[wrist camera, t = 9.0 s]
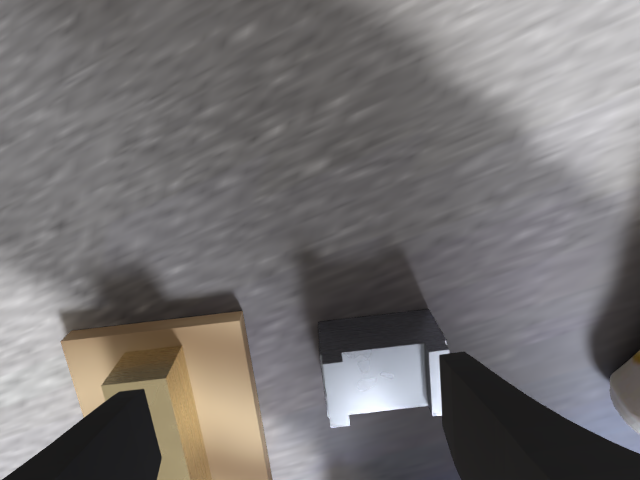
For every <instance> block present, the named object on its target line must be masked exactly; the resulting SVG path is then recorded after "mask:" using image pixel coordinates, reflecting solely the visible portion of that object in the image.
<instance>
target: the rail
mask: <svg viewBox="0 0 640 480" xmlns="http://www.w3.org/2000/svg"><path fill="white" fill-rule="evenodd" d="M101 388H102V391H103V395H104V398H105V401H106V400H108V399H109V398H110V397H112V396H113V395H115V394H116V393H118V392H119V391H128V390H137V389H144V390H145V394H146V398H147V402H148V406H149V410H150V413H151V417H152V421H153V425H154V429H155V433H156V437H157V441H158V445H159V449H160V452H161V456H162V460H161V464H160V468H159V473H158V477H157V480H212V477H211V472H210V468H209V463H208V459H207V454H206V450H205V445H204V441H203V436H202V432H201V427H200V423H199V418H198V414H197V409H196V405H195V400H194V396H193V391H192V387H191V382H190V378H189V373H188V369H187V364H186V360H185V355H184V351H183V346H174V347H165V348H156V349H148V350H139V351H130V352H125V353H124V354H123V355H122V357H121V358H120V360H119V361H118V362H117V364H116V365H115V367H114V368H113V370H112V371H111V372H110V374H109V375H108V377H107V378H106V379H105V381H104V382H103V384H102V385H101Z"/></svg>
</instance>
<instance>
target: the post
mask: <svg viewBox="0 0 640 480" xmlns="http://www.w3.org/2000/svg"><path fill="white" fill-rule="evenodd" d="M318 331H319V352H320V362H321V370H322V377H323V385H324V393H325V400H326V408H327V416H328V417H329V418H330V426H331V428H335V427H344V426H350V420H349V415H353V414H361V413H370V412H379V411H388V410H396V409H405V408H414V407H423V406H428V407H429V409H430V412H431V414H432V416H440V415H442V404H441V383H440V362H439V355H441V354H449V349H448V347H447V340H446V339H445V337H444V335H443V333H442V332H441V330H440V328H439V326H438V325H437V323H436V321H435V319H434V317H433V316H432V314H431V312H430V310H429V309H426V310H417V311H408V312H400V313H391V314H382V315H374V316H365V317H357V318H348V319H339V320H331V321H322V322H318Z"/></svg>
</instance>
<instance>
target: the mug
mask: <svg viewBox="0 0 640 480" xmlns="http://www.w3.org/2000/svg"><path fill="white" fill-rule="evenodd" d="M610 396H611V400H612V402H613V405H614V407H615V408H616V410H617V411H618V412H619V414H620V416H621V417H622V418H623V419H624V421H625V422H626V423H627V424H628V425H629V426H630V427H631V428H632V429H633V430H634V431H635V432H637V433H638V434H639V435H640V350H639V351H638V352H637V353H636V354H635V355H634V356H633V357H632V358H630V359H629V360H628V361H627V362H626V363H625V364H623V365H622V366H621V367H620V368H619V369H617V370H616V371H615V372H614V373H612V375H611V377H610Z"/></svg>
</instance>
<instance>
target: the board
mask: <svg viewBox="0 0 640 480" xmlns="http://www.w3.org/2000/svg"><path fill="white" fill-rule="evenodd" d="M61 344H62V348H63V351H64V354H65V357H66V361H67V364H68V367H69V371H70V374H71V377H72V380H73V384H74V387H75V390H76V393H77V397H78V400H79V403H80V407H81V410H82V413H83V416H84V417H86V416H87V415H88V414H89V413H91V412H92V411H93V410H95V409H96V408H97V407H98V406H100V405H101V404H102V403H104V402H105V398H104V395H103V391H102V388H101V385H102V384H103V382H104V381H105V379H106V378H107V377H108V375H109V374H110V372H111V371H112V370H113V368H114V367H115V365H116V364H117V362H118V361H119V360H120V358H121V357H122V355H123V354H124V353H125V352H130V351H139V350H148V349H156V348H165V347H174V346H183V351H184V355H185V360H186V364H187V369H188V373H189V378H190V382H191V387H192V391H193V396H194V400H195V405H196V409H197V414H198V418H199V423H200V427H201V432H202V436H203V441H204V445H205V450H206V454H207V459H208V463H209V468H210V472H211V477H212V480H272V475H271V469H270V463H269V458H268V452H267V446H266V441H265V435H264V429H263V424H262V418H261V413H260V407H259V401H258V396H257V390H256V384H255V379H254V373H253V368H252V362H251V356H250V351H249V345H248V339H247V334H246V328H245V322H244V317H243V311H238V312H229V313H220V314H212V315H203V316H195V317H186V318H177V319H169V320H160V321H152V322H143V323H134V324H126V325H117V326H109V327H100V328H91V329H83V330H74V331H71V332H70V333H69V334H68V335H67V336H66V337H65V338H64V339H63V340H62V341H61Z"/></svg>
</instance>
